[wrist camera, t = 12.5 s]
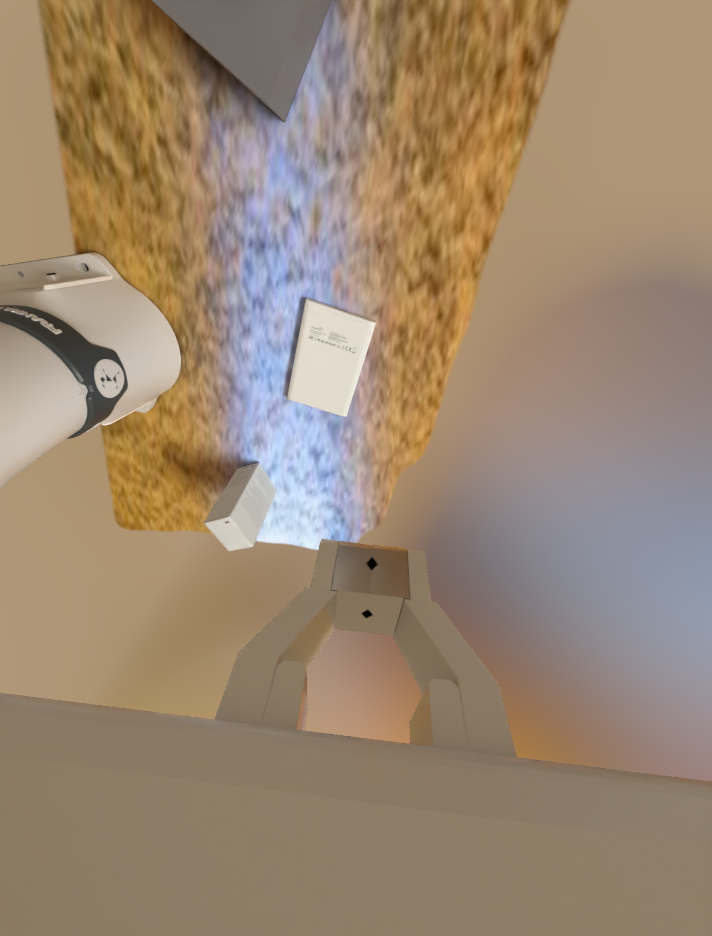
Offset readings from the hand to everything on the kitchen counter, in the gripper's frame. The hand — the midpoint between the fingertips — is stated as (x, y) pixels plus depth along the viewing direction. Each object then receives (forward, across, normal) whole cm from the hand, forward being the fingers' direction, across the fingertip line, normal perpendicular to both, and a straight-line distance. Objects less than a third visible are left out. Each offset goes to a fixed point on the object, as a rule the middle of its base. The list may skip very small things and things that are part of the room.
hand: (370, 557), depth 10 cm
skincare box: (+34, +17, +26) cm, 46 cm away
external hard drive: (+35, +6, +6) cm, 36 cm away
